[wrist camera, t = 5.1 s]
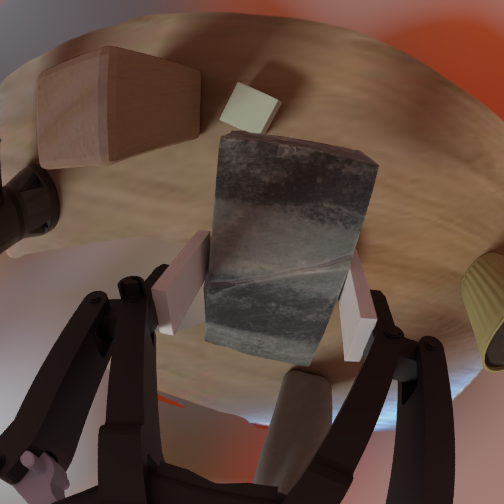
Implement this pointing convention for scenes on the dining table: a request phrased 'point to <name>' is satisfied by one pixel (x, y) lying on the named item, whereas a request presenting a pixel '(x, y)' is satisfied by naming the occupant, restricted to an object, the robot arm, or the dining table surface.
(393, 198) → the dining table surface
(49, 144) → the wooden block
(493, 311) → the potted cactus
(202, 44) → the dining table surface
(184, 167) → the dining table surface
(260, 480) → the vase
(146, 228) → the dining table surface
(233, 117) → the sage cube
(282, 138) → the stone block
